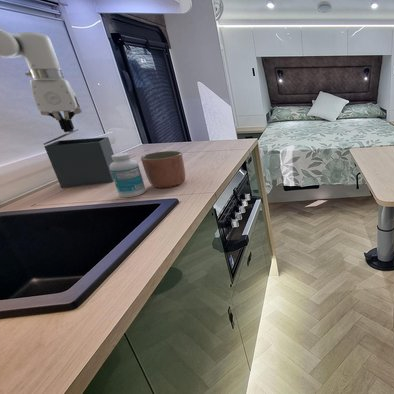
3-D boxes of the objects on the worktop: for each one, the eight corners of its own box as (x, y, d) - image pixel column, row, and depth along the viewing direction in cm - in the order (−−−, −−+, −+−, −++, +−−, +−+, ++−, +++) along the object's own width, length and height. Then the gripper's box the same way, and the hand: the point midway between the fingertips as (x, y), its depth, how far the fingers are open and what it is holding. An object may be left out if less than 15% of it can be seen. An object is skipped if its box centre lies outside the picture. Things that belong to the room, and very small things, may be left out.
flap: (44, 144, 97) (43, 143, 97) (58, 139, 106) (57, 138, 106) (66, 134, 99) (66, 133, 98) (78, 130, 108) (77, 129, 108)
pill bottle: (123, 191, 99) (110, 152, 94) (148, 188, 101) (137, 150, 96) (115, 199, 92) (101, 158, 87) (142, 196, 95) (130, 156, 90)
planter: (175, 177, 114) (168, 149, 109) (195, 181, 108) (189, 153, 104) (141, 186, 103) (132, 156, 99) (162, 192, 98) (153, 161, 94)
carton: (61, 188, 103) (44, 146, 97) (73, 179, 112) (58, 140, 106) (112, 181, 109) (99, 142, 103) (120, 174, 118) (108, 137, 112)
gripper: (10, 75, 90) (36, 135, 97) (72, 75, 96) (92, 131, 102) (23, 75, 96) (46, 131, 103) (80, 75, 102) (98, 128, 109)
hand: (69, 131), depth 103 cm, fingers closed
